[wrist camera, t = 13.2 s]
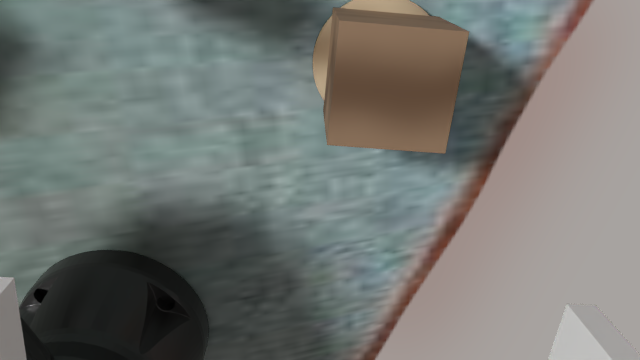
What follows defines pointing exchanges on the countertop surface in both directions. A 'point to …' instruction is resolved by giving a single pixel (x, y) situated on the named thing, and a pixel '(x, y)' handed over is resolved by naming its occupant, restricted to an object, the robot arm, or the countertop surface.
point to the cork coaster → (394, 3)
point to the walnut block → (392, 80)
